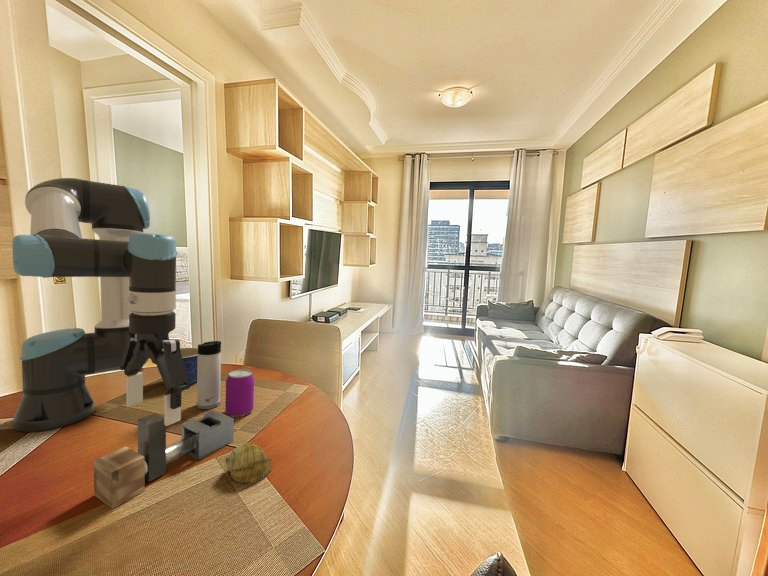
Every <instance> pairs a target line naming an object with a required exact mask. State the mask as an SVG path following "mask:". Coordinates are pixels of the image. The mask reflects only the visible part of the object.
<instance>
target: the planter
mask: <svg viewBox="0 0 768 576" xmlns="http://www.w3.org/2000/svg"><path fill="white" fill-rule="evenodd" d="M180 351H181V355H182V359H183V362H184V366H185V370H186V373H187V377H188V381H189V384H190V385H192V384H193V385H194V383H197V359H198V347H180Z"/></svg>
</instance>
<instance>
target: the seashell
mask: <svg viewBox="0 0 768 576" xmlns="http://www.w3.org/2000/svg"><path fill="white" fill-rule="evenodd" d="M224 460H225V464H226V469H227V471H228V472H230V474H229V476H230V477H231V479H232V480H234V481H235V482H236V483H239V484H247V485H248V484H255V483H257V482H260V481H262V480H264V479H266V477H268V476H269V475H270V473H271V472H272V471H271V470H272V469H271V468H272V464H271V461H272V458H270V457H268V455H267V454H266V452H265V450H264V449H263V448H262V447H260V446H259V445H258V444H255V443H248V442H247V443H242V444H239V445H238V446H236V447H235V448H234V449H233V450H232V451H231V452H230V454H229V455H228V456H227V457H226V458H225V459H224Z"/></svg>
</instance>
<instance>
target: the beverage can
mask: <svg viewBox="0 0 768 576" xmlns="http://www.w3.org/2000/svg"><path fill="white" fill-rule="evenodd" d="M254 397H255V378H254V374H253V372H252V370H250V369H243V368H241V369H236V370H231V371H230V372H229V373H228V375H227V377H226V380H225V414H226V415H227V416H229V415H230V416H229V417H232V416H234V417H233V418H239V417H238V416H241V417H243V415H245V416H246V414H247V415H248V413H249V412H250V413H251V412H252V411H253V409H254V406H255V405H254V403H255V399H254ZM250 413H249V414H250Z"/></svg>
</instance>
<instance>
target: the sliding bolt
mask: <svg viewBox="0 0 768 576" xmlns="http://www.w3.org/2000/svg"><path fill="white" fill-rule="evenodd" d="M166 434H167V426H165V425H164V416H162V415H160V414H157V413H155V412H154V413H152V414H149V415H146V416H144V417H141V418H137V453H139V454H140V455H142V456H144V467H145V482H148V483H150V482H152V481H154V480H155V479H157V478H159V477H161V476H163V475H164V474H166V473H167V468H166V467H167V464H168V463H170V462H172V461H174V460H177V459H178V458H180V457H182V456H184V455H185V454H186V453H188V452H190V451H192V450H193V449H195V448H196V435H194V434H192V435H190V436H188V437H186V438H184V439H182V440H181V439H180V440H177V441H176V442H173V443H171V444H169V445H167V435H166ZM186 455H187V454H186Z"/></svg>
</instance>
